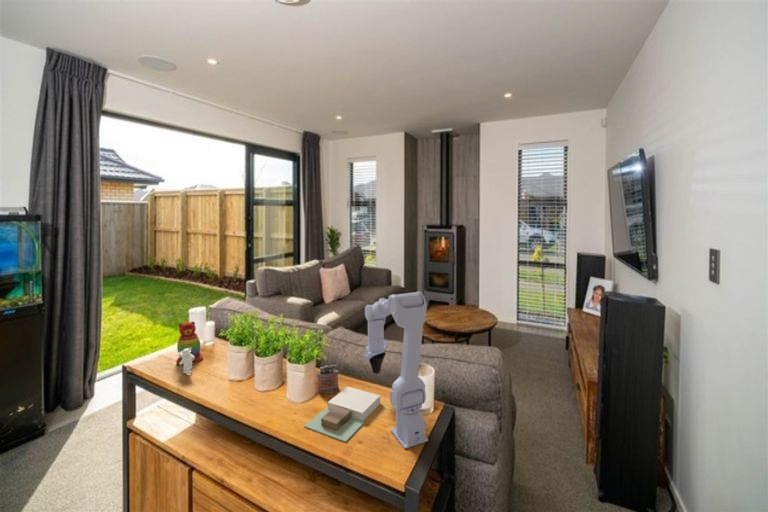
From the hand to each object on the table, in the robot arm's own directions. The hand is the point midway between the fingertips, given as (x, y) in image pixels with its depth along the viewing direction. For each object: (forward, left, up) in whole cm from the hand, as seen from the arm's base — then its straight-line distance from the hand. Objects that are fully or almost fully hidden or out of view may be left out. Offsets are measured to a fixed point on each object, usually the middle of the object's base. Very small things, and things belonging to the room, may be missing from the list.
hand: (376, 372), depth 125 cm
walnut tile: (-9, +18, -9) cm, 22 cm away
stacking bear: (+68, +66, -10) cm, 95 cm away
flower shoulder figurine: (+51, +66, -10) cm, 84 cm away
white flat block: (-3, +10, -9) cm, 14 cm away
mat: (-10, +19, -9) cm, 23 cm away
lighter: (+12, +15, -10) cm, 21 cm away
